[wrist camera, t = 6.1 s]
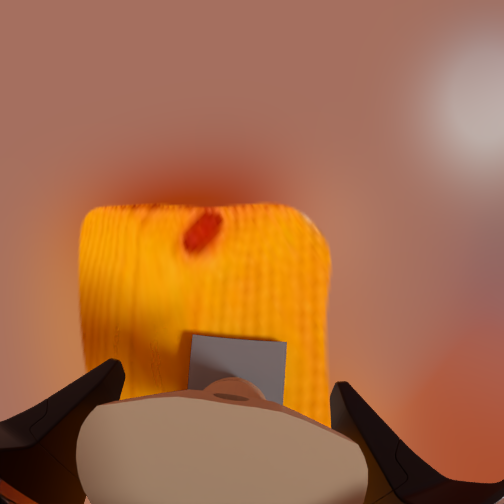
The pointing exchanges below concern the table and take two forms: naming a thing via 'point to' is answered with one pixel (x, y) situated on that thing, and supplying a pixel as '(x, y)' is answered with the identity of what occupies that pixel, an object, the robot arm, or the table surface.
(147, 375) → the table surface
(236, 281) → the table surface
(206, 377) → the plate
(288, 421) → the handle
